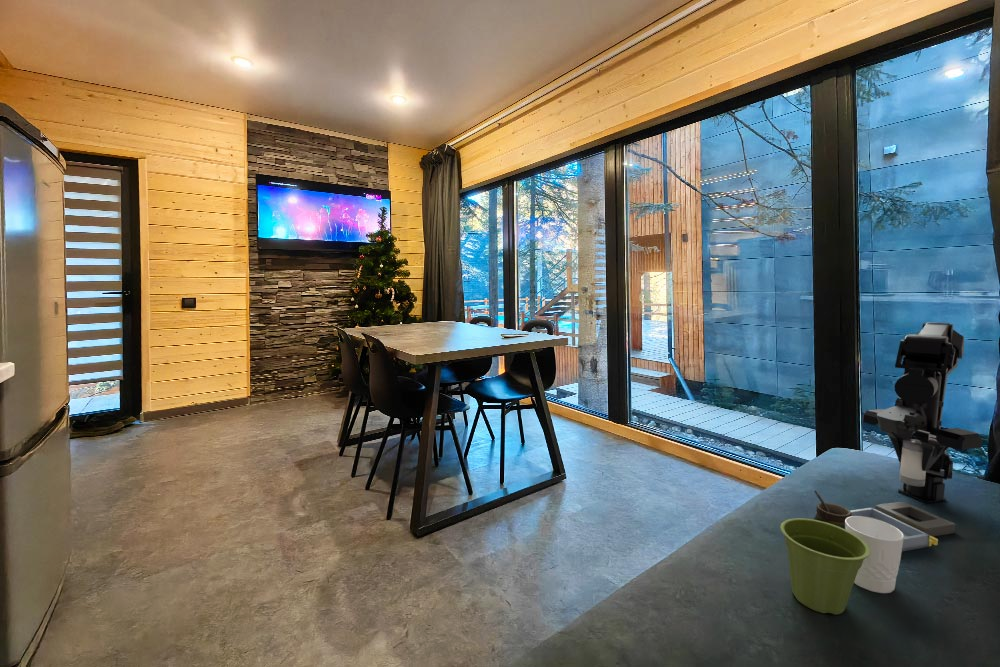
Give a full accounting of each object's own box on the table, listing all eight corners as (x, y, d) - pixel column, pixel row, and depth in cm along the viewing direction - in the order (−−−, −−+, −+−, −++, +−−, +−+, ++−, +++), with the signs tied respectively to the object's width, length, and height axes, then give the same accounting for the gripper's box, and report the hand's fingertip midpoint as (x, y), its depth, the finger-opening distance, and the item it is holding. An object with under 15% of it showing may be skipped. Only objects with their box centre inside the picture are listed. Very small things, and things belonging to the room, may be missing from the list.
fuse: (894, 479, 96) (898, 439, 95) (908, 477, 97) (912, 438, 96) (914, 487, 92) (919, 445, 91) (929, 485, 93) (933, 444, 92)
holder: (874, 513, 101) (875, 505, 100) (902, 509, 102) (903, 501, 102) (924, 537, 91) (925, 528, 91) (954, 532, 92) (955, 523, 92)
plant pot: (870, 639, 65) (877, 568, 64) (776, 608, 72) (781, 543, 70) (857, 591, 75) (863, 529, 74) (776, 568, 82) (780, 511, 80)
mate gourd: (842, 562, 83) (845, 511, 82) (800, 542, 90) (802, 495, 89) (862, 550, 87) (865, 502, 86) (819, 532, 93) (822, 487, 92)
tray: (837, 523, 97) (837, 512, 96) (870, 518, 99) (871, 507, 98) (891, 553, 86) (892, 541, 86) (928, 546, 88) (929, 535, 87)
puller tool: (881, 522, 97) (882, 517, 96) (889, 521, 97) (890, 516, 97) (929, 546, 88) (929, 540, 88) (937, 544, 88) (938, 539, 88)
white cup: (849, 589, 76) (854, 534, 75) (834, 562, 83) (838, 512, 82) (907, 601, 73) (913, 544, 72) (887, 572, 80) (892, 520, 79)
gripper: (845, 387, 100) (840, 453, 101) (944, 409, 82) (935, 489, 83) (884, 385, 102) (878, 449, 104) (988, 405, 84) (979, 484, 86)
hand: (913, 466), depth 94 cm, fingers closed on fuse, 4 cm apart
